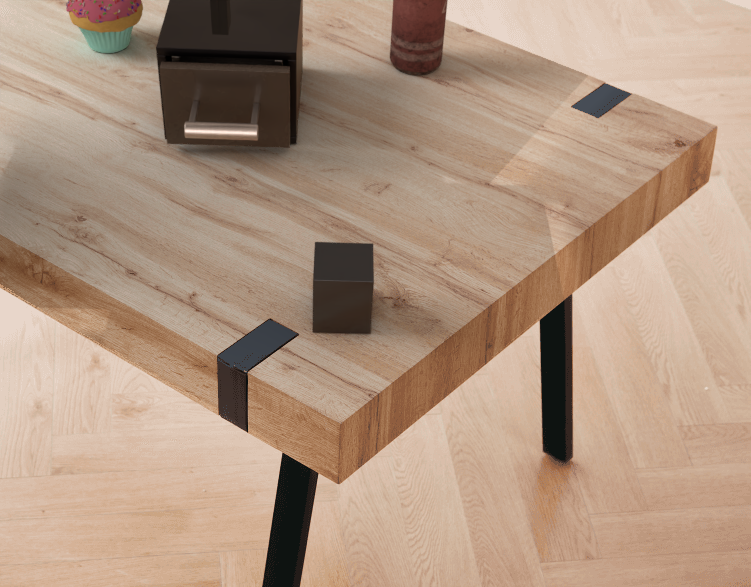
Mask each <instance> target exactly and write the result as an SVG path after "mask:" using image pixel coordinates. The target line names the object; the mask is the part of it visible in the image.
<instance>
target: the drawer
mask: <svg viewBox="0 0 751 587" xmlns="http://www.w3.org/2000/svg"><path fill="white" fill-rule="evenodd" d="M160 75H161V85H162V96H163V106H164V116H165V127H166V137H167V139H166V144H168V145H190V146H194V145H195V146H221V147H227V146H228V147H249V148H250V147H251V148H253V147H254V148H256V147H257V148H282V149H285V148H286V149H290V148H291V144H290V66H288V60H274V59H247V58H220V57H193V56H172V62H161V65H160Z"/></svg>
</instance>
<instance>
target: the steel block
mask: <svg viewBox="0 0 751 587" xmlns="http://www.w3.org/2000/svg"><path fill="white" fill-rule="evenodd" d="M313 253H314V254H313V271H312V321H311V322H312V325H311V326H312V331H311V332H312V333H315V334H317V333H319V334H355V335H356V334H357V335H359V334H360V335H371V333H372V316H373V303H374V286H375V265H374V264H375V263H374V262H375V261H374V260H375V259H374V243H365V242H364V243H363V242H335V241H333V242H331V241H314V250H313Z"/></svg>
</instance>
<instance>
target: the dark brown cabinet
mask: <svg viewBox="0 0 751 587" xmlns="http://www.w3.org/2000/svg"><path fill="white" fill-rule="evenodd" d="M230 12H231V23H230V29H229V34H228V35H214V34H212V24H211V9H210V0H168V3H167V7H166V11H165V13H164V17H163V21H162V25H161V28H160V32H159V35H158V39H157V42H156V45H155V52H156V53H155V54H156V62H157V71H158V73H157V74H158V82H159V83H158V84H159V93H160V104H161V112H162V114H161V115H162V123H163V124H162V125H163V132H164V133H163V134H164V140H167V137H166V127H165V116H164V106H163V96H162V85H161V75H160V65H161V62H172V56H193V57H220V58H247V59H274V60H288V66H290V145H296V144H297V143H298V133H299V132H298V131H299V120H300V107H301V92H302V82H303V80H302V79H303V64H304V57H303V55H304V54H303V53H304V51H303V50H304V48H303V47H304V45H303V44H304V42H303V41H304V40H303V39H304V26H303V25H304V0H230Z"/></svg>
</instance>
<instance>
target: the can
mask: <svg viewBox="0 0 751 587" xmlns="http://www.w3.org/2000/svg"><path fill="white" fill-rule="evenodd" d="M447 9H448V0H392V13H391V14H392V15H391V29H390V47H389V60H390V63H391V65H392V66H393V67H394V68H395V69H396V70H397V71H399V72H401V73H404V74H406V75H412V76H423V75H428V74H429V75H430V74H431V73H433V72H435V71H436V70H438V68H439V67H440V66H441V64H442V61H443V52H444V51H443V50H444V40H445V30H446V20H447Z"/></svg>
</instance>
